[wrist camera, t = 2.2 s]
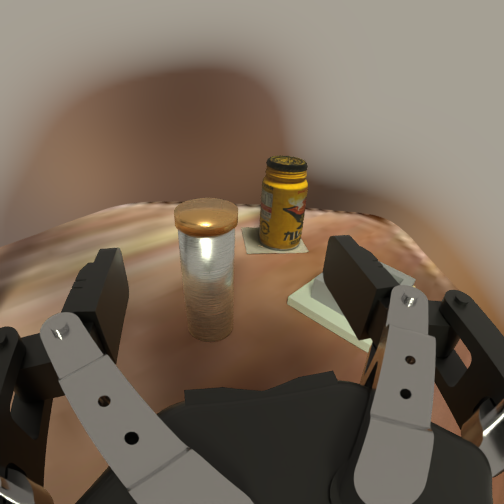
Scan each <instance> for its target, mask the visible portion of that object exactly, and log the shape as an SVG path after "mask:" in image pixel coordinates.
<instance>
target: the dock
mask: <svg viewBox="0 0 504 504" xmlns="http://www.w3.org/2000/svg"><path fill="white" fill-rule="evenodd" d="M380 263H381V262H380ZM381 264H382V265H383V268H384V267H385V268H386V269H387V271H388V272H389V273H390V274H391V275H392V276H393V277H394V278H395V280H396V281H397V282H398V283H399V284H400V285H408V286H412V287H415V286H413V285H414V282H415V280H416V279H414V278H412V277H410V276H408V275H406V274H404V273H402V272H400V271H398V270H396V269H394V268H392V267H390V266H388V265H385V264H383V263H381ZM287 304H288V305H290V306H291V307H293V308H295V309H296V310H298V311H299V312H301V313H303V314H304V315H306V316H308V317H309V318H311V319H312V320H314V321H316V322H317V323H319V324H321V325H322V326H324V327H326V328H327V329H329V330H331V331H332V332H334V333H336V334H337V335H339V336H341V337H342V338H344V339H346V340H347V341H349V342H351V343H352V344H354V345H356V346H357V347H359V348H361V349H362V350H364V351H366V352H367V353H368V352H369V348H370V346H371V343H372V340H371V338H369V339H364V340H360V341H359V340H358V339H357V337H356V335H355V333H354V332H353V330H352V328H351V327H350V325H349V323H348V321H347V320H346V318H345V316H344V315H343V313H342V311H341V310H340V308H339V306H338V305H337V303H336V301H335V300H334V298H333V296H332V295H331V293H330V291H329V290H328V288H327V286H326V285H325V282H324V279H323V272H322V273H321V274H320V275H318V276H317V277H315V278H314V279H313V280H311V281H310V282H309V283H307V284H306V285H304V286H303V287H302V288H300V289H299V290H297V291H296V292H294V293H293V294H292V295H290V296H289V297H288V302H287Z"/></svg>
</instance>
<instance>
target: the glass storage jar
mask: <svg viewBox="0 0 504 504" xmlns="http://www.w3.org/2000/svg"><path fill="white" fill-rule="evenodd" d="M174 217H175V226H176V228H177V229H178V236H179V248H180V260H181V270H182V280H183V290H184V299H185V308H186V316H187V324H188V330H189V332H190V334H191V335H192V336H193V337H195V338H196V339H198V340H201V341H205V342H215V341H219V340H222V339H224V338H226V337H227V336H228V335H229V334H230V333H231V332H232V329H233V298H234V243H235V227H236V226H237V223H238V208H237V206H236V205H235V204H233V203H231V202H229V201H226V200H222V199H216V198H199V199H193V200H189V201H186V202H183V203H181V204H179V205H178V206H177V207H176V208H175V210H174Z"/></svg>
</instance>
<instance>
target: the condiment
mask: <svg viewBox="0 0 504 504" xmlns="http://www.w3.org/2000/svg"><path fill="white" fill-rule="evenodd" d="M266 163H267V169H266V176H265V177H264V179H263V182H262V197H261V212H260V227H259V228H249V227H246V228H242V234H243V238H244V243H245V247H246V251H247V254H252V253H256V254H260V253H304V252H309V251H308V250H307V248H306V246H305V245H304V243H303V241H302V239H301V234H302V228H303V220H304V212H305V204H306V196H307V190H308V183H307V181H306V180H305V178H306V170H307V163H306V162H305V161H304V160H302V159H300V158H295V157H290V156H273V157H270V158H269V159H268V160H267V162H266ZM258 245H259V246H258ZM261 246H263V247H261Z"/></svg>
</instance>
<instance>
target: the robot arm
mask: <svg viewBox="0 0 504 504" xmlns="http://www.w3.org/2000/svg"><path fill="white" fill-rule="evenodd" d="M323 279H324V282H325V285H326V286H327V288H328V290H329V291H330V293H331V295H332V296H333V298H334V300H335V301H336V303H337V305H338V306H339V308H340V310H341V311H342V313H343V315H344V316H345V318H346V320H347V321H348V323H349V325H350V327H351V328H352V330H353V332H354V333H355V335H356V337H357V339H358V340H359V341H360V340H364V339H369V338H371V340H372V343H371V346H370V348H369V352H368V356H367V359H366V363H365V367H364V370H363V374H362V377H361V381H360V384H357V383H353V382H348V381H337V379H336V376H335V374H334V372H333V371H329V372H324V373H319V374H313V375H308V376H302V377H298V378H296V379H293V380H291V381H289V382H286V383H284V384H281V385H279V386H276V387H273V388H271V389H268V390H265V391H256V390H244V389H234V388H225V387H220V388H208V389H193V390H184V393H185V401H183V402H179V403H176V404H174V405H171V406H169V407H167V408H166V409H164V410H162V411H161V412H159V413H158V414H155V413H154V411H153V410H152V409H151V408H150V407H149V406H148V405H147V403H146V402H145V401H144V400H143V399H142V398H141V396H140V395H139V394H138V393H137V392H136V390H135V389H134V388H133V387H132V386H131V384H130V383H129V382H128V381H127V379H126V378H125V377H124V376H123V374H122V373H121V372H120V370H119V369H118V368H117V366H116V365H115V364H116V362H117V356H118V350H119V344H120V338H121V333H122V328H123V322H124V317H125V313H126V308H127V303H128V298H129V287H128V281H127V276H126V272H125V267H124V263H123V258H122V253H121V250H120V248H107V249H100V250H99V252H98V254H97V256H96V258H95V261H94V263H88V264H87V265H85V266H84V267H83V268H82V269H81V270H80V271H79V273H78V275H77V277H76V280H75V282H74V284H73V286H72V289H71V290H70V293H69V295H68V297H67V299H66V302H65V304H64V306H63V309H62V311H61V313H58V314H55V315H53V316H51V317H50V318H48V319H47V320H46V321H45V322H44V324H43V325H42V327H41V329H40V333H38V334H34V335H30V336H26V337H23V338H20V336H19V334H18V332H17V331H16V329H14V328H13V327H2V328H0V504H54V502H53V499H52V497H51V495H50V494H49V493H48V491H47V490H46V489H44V488H43V486H44V467H45V454H46V444H47V435H48V428H49V420H50V414H51V408H52V402H53V398H55V397H60V396H64V395H66V397H67V399H68V401H69V403H70V404H71V406H72V408H73V410H74V412H75V413H76V415H77V417H78V419H79V420H80V422H81V424H82V425H83V427H84V428H85V430H86V432H87V433H88V435H89V436H90V438H91V440H92V441H93V443H94V444H95V446H96V447H97V449H98V450H99V452H100V453H101V455H102V456H103V457H104V459H105V460H106V462H107V463H108V464H109V467H108V468H107V469H106V470H105V471H104V472H103V474H102V475H101V476H100V477H99V478H98V479H97V480H96V481H95V482H94V484H93V485H92V486H91V487H90V488H89V489H88V490H87V491H86V492H85V493H84V495H83V496H82V497H81V498H80V499H79V500H78V501H77V502H76V503H75V504H493V498H492V477H496V476H498V475H499V474H501V473H502V472H504V336H503V335H502V334H501V333H500V331H499V330H498V329H497V328H496V326H495V325H494V324H493V323H492V321H491V320H490V319H489V318H488V317H487V316H486V314H485V313H484V312H483V311H482V310H481V309H480V308H479V306H478V305H477V304H476V303H475V302H474V300H473V299H472V298H471V297H470V296H468V295H467V294H465V293H463V292H461V291H458V290H449V291H447V292H446V294H445V296H444V298H443V300H442V301H430V300H428V299H427V297H426V296H425V294H424V293H423V292H421V291H420V290H418V289H417V288H415V287H412V286H408V285H400V284H399V283H398V282H397V281H396V280H395V278H394V277H393V276H392V275H391V274H390V273H389V272H388V271H387V269H386V268H385V267H384V268H383V265H382V264H381V263H380V262H379V261H378V259H377V258H376V257H375V256H374V255H373V254H372V253H371V252H369V251H368V250H366V249H364V248H363V247H361V246H359V245H358V244H357V243H356V242H355V241H354V240H353V238H352V237H351V236H349V235H341V236H331V237H330V238H329V241H328V246H327V251H326V257H325V262H324V268H323ZM459 339H461V340H462V341H463V343H464V344H465V345H466V347H467V348H468V350H469V351H470V353H471V357H472V361H471V364H470V366H469V368H468V369H467V368H466V366H465V365H464V363H463V362H462V360H461V359H460V357H459V356H458V354H457V353H456V351H455V350H454V348H455V346H456V344H457V343H458V341H459ZM434 382H435V383H436V385H437V387H438V389H439V391H440V392H441V394H442V396H443V398H444V400H445V401H446V403H447V405H448V407H449V409H450V411H451V412H452V414H453V416H454V418H455V420H456V422H457V424H458V426H459V428H460V430H461V437H460V436H458V435H456V434H454V433H452V432H450V431H448V430H446V429H444V428H442V427H440V426H438V425H436V424H434V423H432V422H431V414H432V404H433V393H434ZM13 391H14V392H15V395H14V399H13V403H12V408H11V412H10V403H11V399H12V395H13Z"/></svg>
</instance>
